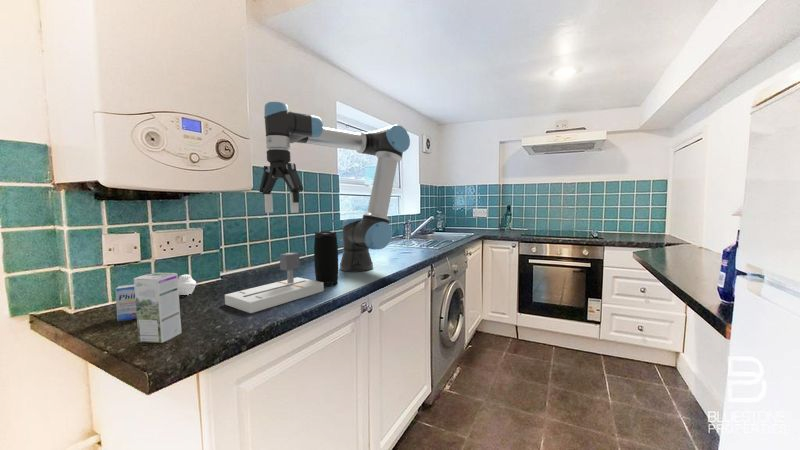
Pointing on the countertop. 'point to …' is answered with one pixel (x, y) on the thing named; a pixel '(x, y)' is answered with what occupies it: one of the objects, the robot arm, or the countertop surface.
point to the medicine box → (125, 302)
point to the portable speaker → (326, 257)
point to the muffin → (186, 284)
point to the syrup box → (157, 307)
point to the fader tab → (289, 264)
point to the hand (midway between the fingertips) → (281, 212)
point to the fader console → (272, 294)
